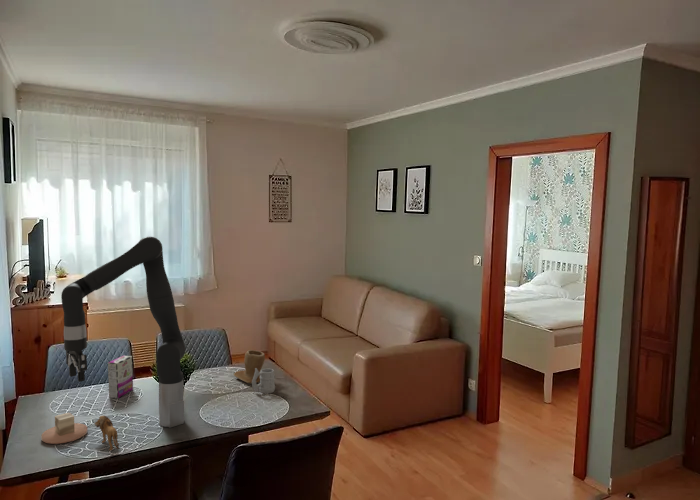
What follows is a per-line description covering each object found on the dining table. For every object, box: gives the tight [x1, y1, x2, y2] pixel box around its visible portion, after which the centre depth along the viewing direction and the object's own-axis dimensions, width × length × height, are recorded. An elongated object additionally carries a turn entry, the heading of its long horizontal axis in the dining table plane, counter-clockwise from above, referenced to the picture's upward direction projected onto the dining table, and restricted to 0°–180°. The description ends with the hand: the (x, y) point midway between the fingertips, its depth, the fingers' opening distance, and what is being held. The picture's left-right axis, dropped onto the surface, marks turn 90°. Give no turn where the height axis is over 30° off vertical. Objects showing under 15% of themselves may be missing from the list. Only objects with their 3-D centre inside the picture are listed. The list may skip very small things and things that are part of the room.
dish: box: [40, 422, 88, 445], centre depth 187 cm, size 15×15×2 cm
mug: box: [251, 367, 276, 394], centre depth 236 cm, size 8×12×12 cm, turn 129°
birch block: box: [54, 412, 75, 436], centre depth 187 cm, size 5×5×6 cm
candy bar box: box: [107, 355, 134, 399], centre depth 229 cm, size 11×5×16 cm, turn 168°
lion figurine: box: [94, 415, 120, 451], centre depth 182 cm, size 15×5×9 cm, turn 51°
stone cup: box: [233, 349, 266, 384], centre depth 251 cm, size 15×12×15 cm
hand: (77, 378), depth 190 cm, fingers open, 8 cm apart
